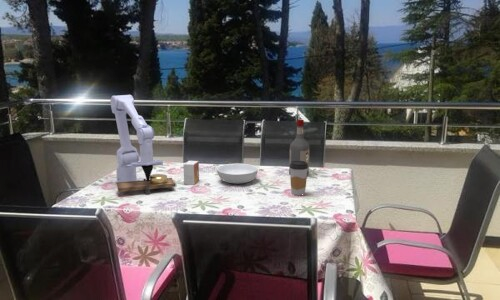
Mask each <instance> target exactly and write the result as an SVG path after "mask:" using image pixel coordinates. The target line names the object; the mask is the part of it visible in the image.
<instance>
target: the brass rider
mask: <svg viewBox="0 0 500 300" xmlns="http://www.w3.org/2000/svg"><path fill="white" fill-rule="evenodd" d="M167 178H168V175H166V174H162V173H156V174H155V173H154V174H151V175H150V179H149V180H150V183H151V184H157V185H158V184H166V183H167Z"/></svg>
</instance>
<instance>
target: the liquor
mask: <svg viewBox="0 0 500 300" xmlns="http://www.w3.org/2000/svg"><path fill="white" fill-rule="evenodd" d="M304 123H305V120H304V119H297V120H296V136H295V138H294V140H293V141H292V142H291V143H290V145H289V160H288V161H289V165H288V167H289V168H288V174H289V175H290V164H291V162H292V161H305V162H307V165H308V168H307V174H308V175H309V174H310V143H309V142H308V141H307V140H306V138H304V137H305V136H304V126H305V124H304Z"/></svg>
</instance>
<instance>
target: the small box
mask: <svg viewBox="0 0 500 300" xmlns="http://www.w3.org/2000/svg"><path fill="white" fill-rule="evenodd" d="M199 165H200V161H199V160H188V161H187V162H184V163H183V184H184V185H193V186H195V185H196V184H197V183H198V182H199V181H200V167H199Z"/></svg>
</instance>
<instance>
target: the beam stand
mask: <svg viewBox="0 0 500 300" xmlns="http://www.w3.org/2000/svg"><path fill="white" fill-rule="evenodd" d="M143 180H146V178H143ZM143 191H144V194H145V195H146V196H149V195H151V189H149V185H146V189H143Z"/></svg>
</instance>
